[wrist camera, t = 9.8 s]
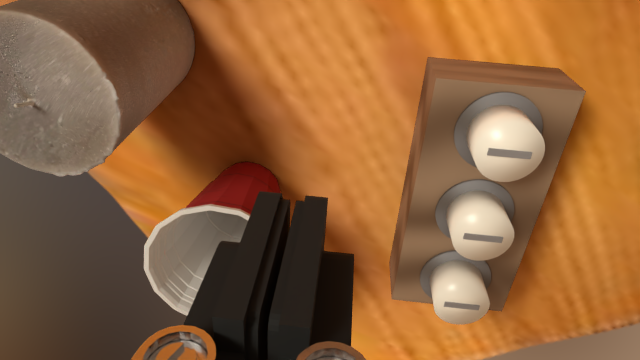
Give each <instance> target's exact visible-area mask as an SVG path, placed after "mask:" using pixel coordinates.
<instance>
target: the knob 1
mask: <svg viewBox="0 0 640 360" xmlns="http://www.w3.org/2000/svg"><path fill="white" fill-rule="evenodd" d="M430 287H431V293H432V299H433V305H434V310H435V313H436V314H437V316H438V317H439V318H441V319H442V320H444V321H446V322H448V323H452V324H468V323H472V322H475V321H477V320H479V319H480V318H482V317H483V316H484V315H485V314H486V313H487V311H488V309H489V306H490V301H489V298H488V294H487V291H486V288H485V285H484V282H483V278H482V275H481V272H480V270H479V269H478V268H477V267H476V266H475V265H474V264H472V263H470V262H467V261H462V260H453V261H448V262H445V263H443V264H441V265H439V266H438V267H436V268H435V269H434V270H433V272H432V273H431V275H430Z"/></svg>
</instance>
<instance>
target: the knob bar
mask: <svg viewBox="0 0 640 360" xmlns="http://www.w3.org/2000/svg"><path fill="white" fill-rule="evenodd" d="M585 92H586V91H585V90H583V89H582V88H581V87H580V86H579V85H578V84H576V83H575V82H574V81H573V80H572V79H571V78H569V77H568V76H567V75H566V74H565V73H564V72H562V71H561V70H560V69H557V68H546V67H535V66H523V65H512V64H500V63H489V62H477V61H466V60H454V59H443V58H431V57H428V59H427V65H426V70H425V75H424V81H423V86H422V91H421V97H420V102H419V107H418V113H417V118H416V123H415V129H414V134H413V140H412V145H411V150H410V156H409V161H408V166H407V172H406V177H405V182H404V188H403V193H402V198H401V204H400V209H399V215H398V220H397V225H396V231H395V236H394V241H393V247H392V252H391V257H390V279H391V295H392V299H394V300H403V301H412V302H421V303H430V304H433V299H432V293H431V287H430V275H431V273H432V272H433V270H434V269H435V268H436V267H438V266H439V265H441V264H443V263H445V262H448V261H453V260H462V261H467V262H470V263H472V264H474V265H475V266H476V267H477V268H478V269H479V270H480V272H481V275H482V278H483V282H484V285H485V288H486V291H487V294H488V298H489V301H490V306H489V309H488V310H494V311H502V309H503V307H504V304H505V302H506V299H507V296H508V294H509V291H510V288H511V286H512V283H513V281H514V278H515V275H516V273H517V270H518V268H519V265H520V262H521V260H522V257H523V254H524V252H525V249H526V247H527V244H528V241H529V239H530V236H531V233H532V231H533V228H534V226H535V223H536V220H537V218H538V215H539V213H540V210H541V207H542V205H543V202H544V199H545V197H546V194H547V192H548V189H549V186H550V184H551V181H552V178H553V176H554V173H555V171H556V168H557V165H558V163H559V160H560V158H561V155H562V152H563V150H564V147H565V144H566V142H567V139H568V137H569V134H570V131H571V129H572V126H573V123H574V121H575V118H576V116H577V113H578V110H579V108H580V105H581V102H582V100H583V97H584V95H585ZM495 105H511V106H515V107H517V108H519V109H521V110H522V111H523V112H524V113H525V114H526V115H527V116H528V118H529V119H530V120H531V122H532V123H533V124H534V126H535V127H536V128H537V130H538V131H539V132H540V134H541V135H542V137H543V139H544V143H545V153H544V156H543V159H542V161H541V162H540V164H539V165H538V167H537V168H536V169H535V170H534V171H533V172H531V173H530V174H529V175H527V176H525V177H523V178H521V179H519V180H516V181H511V182H498V181H493V180H491V179H488V178H487V177H485V176H484V175H482V174H481V173H480V171H479V170H478V169H477V166H476V164H475V162H474V159H473V157H472V155H471V152H470V150H469V147H468V145H467V142H466V133H467V129H468V126H469V124H470V122H471V121H472V120H473V118H474V117H475V116H476V115H477V114H478V113H480V112H481V111H483V110H484V109H486V108H489V107H491V106H495ZM476 190H480V191H486V192H490V193H492V194H494V195H495V196H497V197H498V198H499V199H500V201H501V202H502V204H503V207H504V209H505V211H506V213H507V215H508V218H509V220H510V222H511V224H512V226H513V229H514V240H513V242H512V244H511V246H510V247H509V248H508V250H507V251H505V252H504V253H503V254H501V255H500V256H498V257H496V258H493V259H489V260H484V261H476V260H471V259H467V258H465V257H463V256H461V255H460V254H459V253H458V252H457V251H456V250H455V248H454V247H453V244H452V240H451V236H450V232H449V228H448V224H447V220H446V212H447V208H448V206H449V205H450V203H451V202H452V201H453V200H454V199H455V198H456V197H458V196H459V195H461V194H463V193H466V192H469V191H476Z"/></svg>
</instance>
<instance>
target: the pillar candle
mask: <svg viewBox="0 0 640 360" xmlns="http://www.w3.org/2000/svg"><path fill="white" fill-rule="evenodd" d="M194 53H195V39H194V31H193V28H192V26H191V23H190V20H189V17H188V15H187V13H186V12H185V10H184V9H183V7H182V6H181V4H180V3H179V2H178V0H18V1H14V2H11V3H9V4H6V5H3V6H0V153H1V154H3V155H4V156H6V157H8V158H10V159H11V160H12V161H15V162H17V163H20V164H22V165H24V166H26V167H28V168H31V169H34V170H38V171H42V172H46V173H51V174H54V175H57V176H66V175H74V176H75V175H80V174H82V173H83V172H88V171H89V170H90V169H92V168H94V167H95V166H97V165H99V164H102V163H104V162H105V159H106V158H107V157H108V156H109V155H111V154H112V152H113V151H114V150H115V149H116V148H117V146H118V145H119V144H120V143H121V142H123V141H124V139H125V138H126V137H127V136H128V135H129V134H130V133H131V132H132V131H133V130H134V129H135V128H136V127H137V126H138V125H139V124H140V123H141V122H142V121H143V120H144V119H145V118H146V117H147V116H148V115H149V114H150V113H151V112H152V111H153V110H154V109H155V108H156V107H157V106H158V105H159V104H160V103H161V102H162V101H163V100H164V99H165V98H166V97H167V96H168V95H169V94H170V93H171V92H172V91H173V90H174V88H175V87H176V86H178V85H179V84H180V83H181V82H182V81H183V79H184V78H185V76H186V75H187V73H188V71H189V70H190V68H191V65H192V62H193V58H194Z"/></svg>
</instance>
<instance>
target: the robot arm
mask: <svg viewBox="0 0 640 360" xmlns="http://www.w3.org/2000/svg"><path fill="white" fill-rule="evenodd" d="M327 203H328V198H325V197H315V196H306V197H305V201H296V204H295V209H294V213H293V217H292V221H291V225H290V200H285V199H283V197H282V193H273V192H263V191H260V192H259V193H258V196H257V198H256V201H255V204H254V206H253V209H252V212H251V214H250V217H249V220H248V222H247V225H246V228H245V230H244V233H243V236H242V238H241V241H240V242H230V241H221V242H220V243H219V244H218V246H217V248H216V251H215V253H214V255H213V258H212V260H211V262H210V265H209V267H208V269H207V271H206V274H205V276H204V278H203V281H202V283H201V285H200V288H199V290H198V292H197V294H196V297H195V299H194V301H193V304H192V306H191V308H190V311H189V313H188V315H187V317H186V320H185V322H184V325H179V326H172V327H168V328H166V329H163V330H160V331H158V332H157V333H155V334H154V335H152V336H151V337H149V338H148V339H147V340H146V341H145V342H144V343H143V344H142V345H141V346H140V347H139V349H138V350H137V352H136V353H135V354H134V356H133V357H132V359H131V360H366V359H365V358H364V357H363V355H362V354H361V353H359V352H358V351H357V350H355V349H354V348H353V347H351V328H352V300H353V272H354V254H347V253H338V252H328V251H324V240H325V228H326V216H327ZM289 229H290V230H289Z"/></svg>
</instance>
